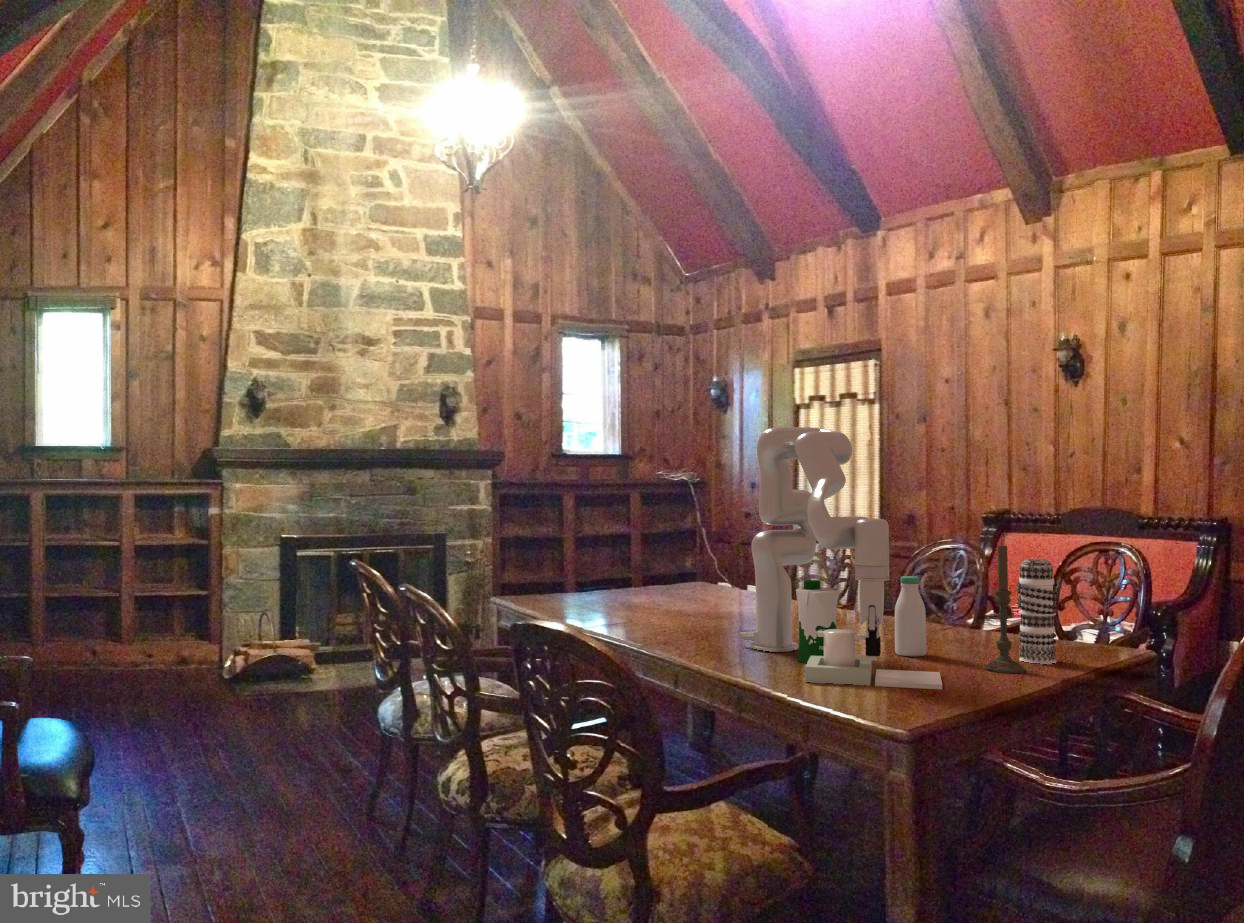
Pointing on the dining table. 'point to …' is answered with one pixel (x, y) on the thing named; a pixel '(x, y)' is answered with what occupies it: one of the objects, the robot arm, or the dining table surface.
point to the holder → (838, 672)
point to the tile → (908, 679)
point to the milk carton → (815, 617)
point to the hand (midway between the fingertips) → (873, 654)
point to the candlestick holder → (1003, 620)
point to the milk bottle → (910, 619)
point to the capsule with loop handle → (841, 647)
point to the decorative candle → (1037, 611)
